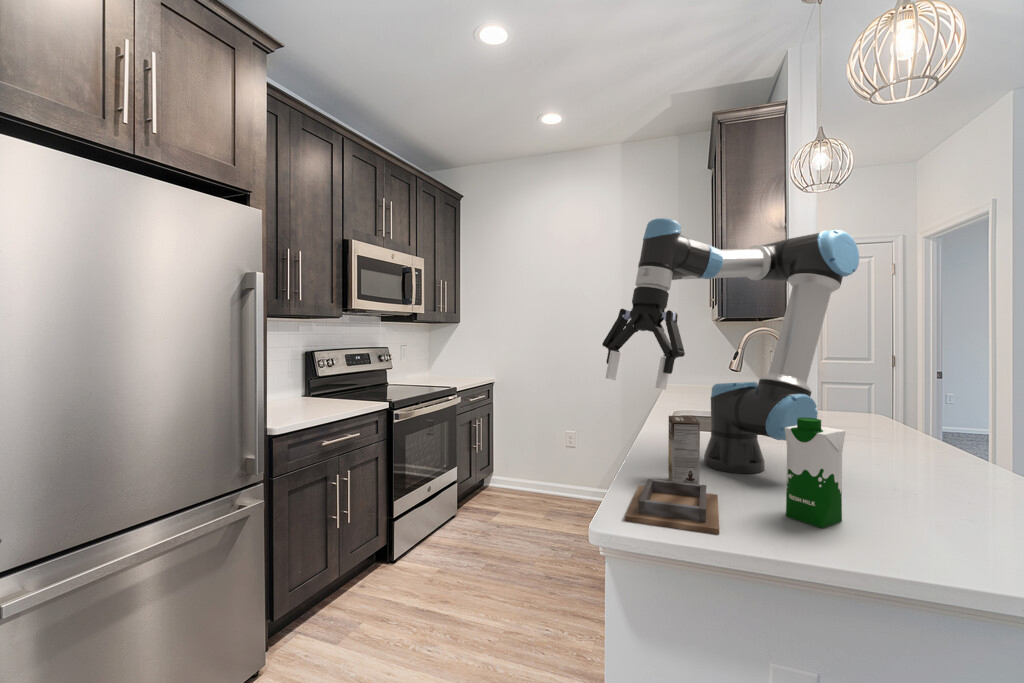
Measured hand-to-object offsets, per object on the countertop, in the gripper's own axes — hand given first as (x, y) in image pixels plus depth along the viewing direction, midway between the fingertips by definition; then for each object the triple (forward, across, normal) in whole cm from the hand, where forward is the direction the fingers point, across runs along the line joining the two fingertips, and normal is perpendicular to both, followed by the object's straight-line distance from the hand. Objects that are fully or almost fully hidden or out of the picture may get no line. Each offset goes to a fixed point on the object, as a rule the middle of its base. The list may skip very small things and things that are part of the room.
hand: (634, 383), depth 106 cm
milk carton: (+20, +30, +24) cm, 43 cm away
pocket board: (+24, +10, +7) cm, 27 cm away
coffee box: (+22, +2, +23) cm, 32 cm away
